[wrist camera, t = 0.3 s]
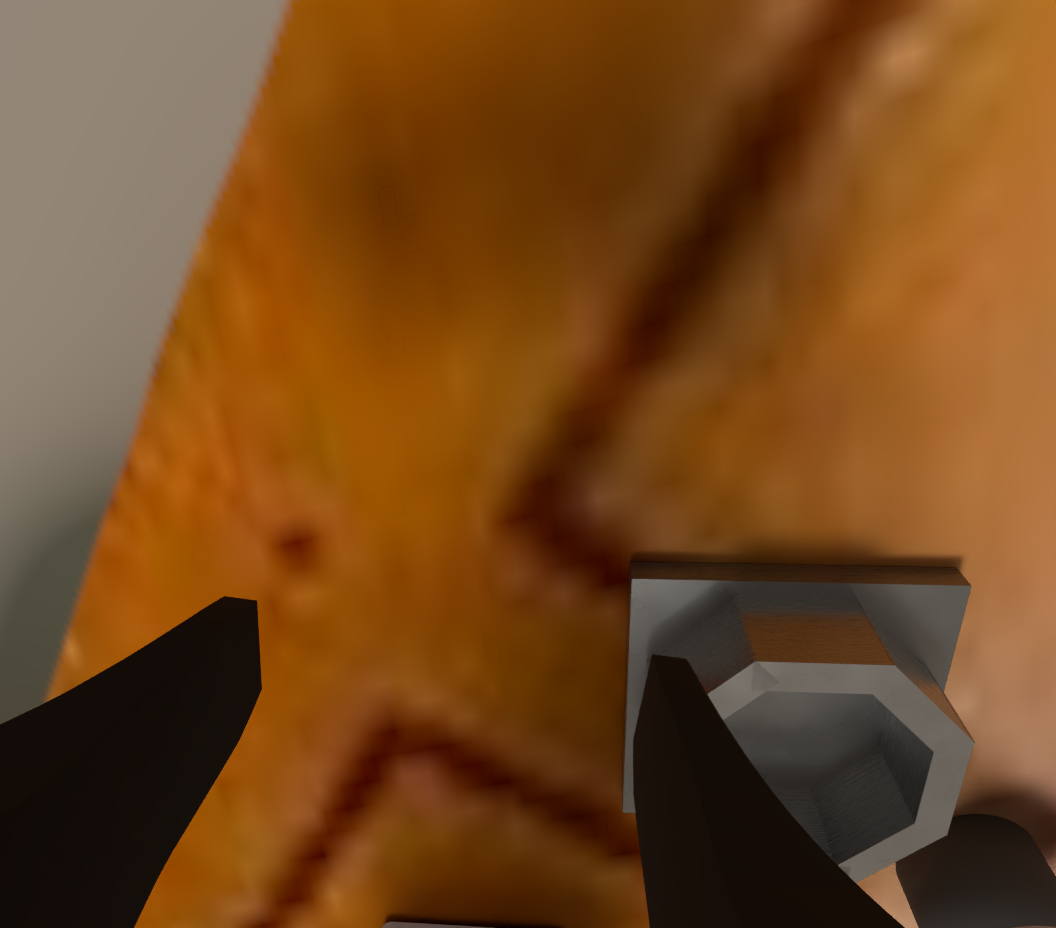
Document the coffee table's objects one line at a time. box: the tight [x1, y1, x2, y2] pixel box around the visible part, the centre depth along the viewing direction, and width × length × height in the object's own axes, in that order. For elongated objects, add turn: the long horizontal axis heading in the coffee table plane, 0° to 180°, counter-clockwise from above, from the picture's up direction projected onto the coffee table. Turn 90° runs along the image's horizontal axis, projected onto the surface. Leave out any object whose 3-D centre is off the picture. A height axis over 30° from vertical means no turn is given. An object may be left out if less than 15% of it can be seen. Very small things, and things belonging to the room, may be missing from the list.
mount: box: [622, 562, 975, 883], centre depth 23 cm, size 10×10×4 cm
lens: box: [896, 814, 1056, 928], centre depth 26 cm, size 5×5×5 cm
